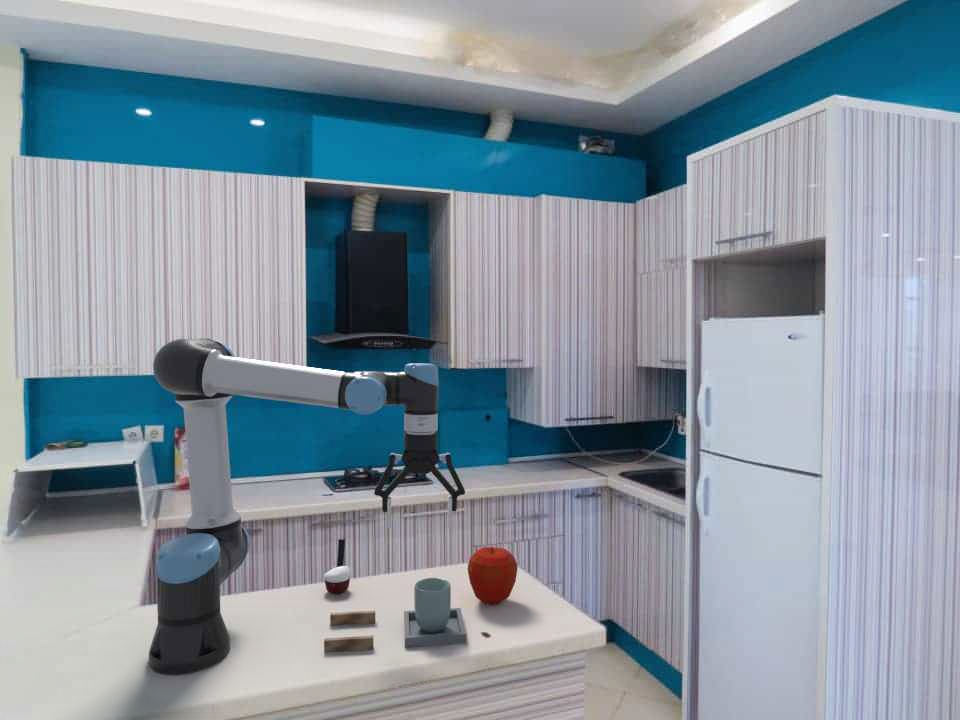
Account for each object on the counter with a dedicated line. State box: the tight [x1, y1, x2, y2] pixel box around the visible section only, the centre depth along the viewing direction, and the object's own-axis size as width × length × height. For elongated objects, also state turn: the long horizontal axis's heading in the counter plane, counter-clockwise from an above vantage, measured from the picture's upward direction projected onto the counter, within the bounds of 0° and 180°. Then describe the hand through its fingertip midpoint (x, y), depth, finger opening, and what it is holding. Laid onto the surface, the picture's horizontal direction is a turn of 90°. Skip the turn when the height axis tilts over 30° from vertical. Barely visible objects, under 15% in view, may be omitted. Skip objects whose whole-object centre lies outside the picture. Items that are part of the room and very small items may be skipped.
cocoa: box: [323, 538, 351, 596], centre depth 161 cm, size 10×6×12 cm, turn 156°
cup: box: [413, 577, 452, 633], centre depth 139 cm, size 8×8×10 cm
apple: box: [467, 545, 518, 606], centre depth 154 cm, size 12×12×14 cm
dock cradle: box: [403, 607, 467, 648], centre depth 140 cm, size 13×13×2 cm
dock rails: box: [323, 610, 376, 654], centre depth 137 cm, size 10×13×2 cm
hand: (419, 525), depth 143 cm, fingers open, 13 cm apart
